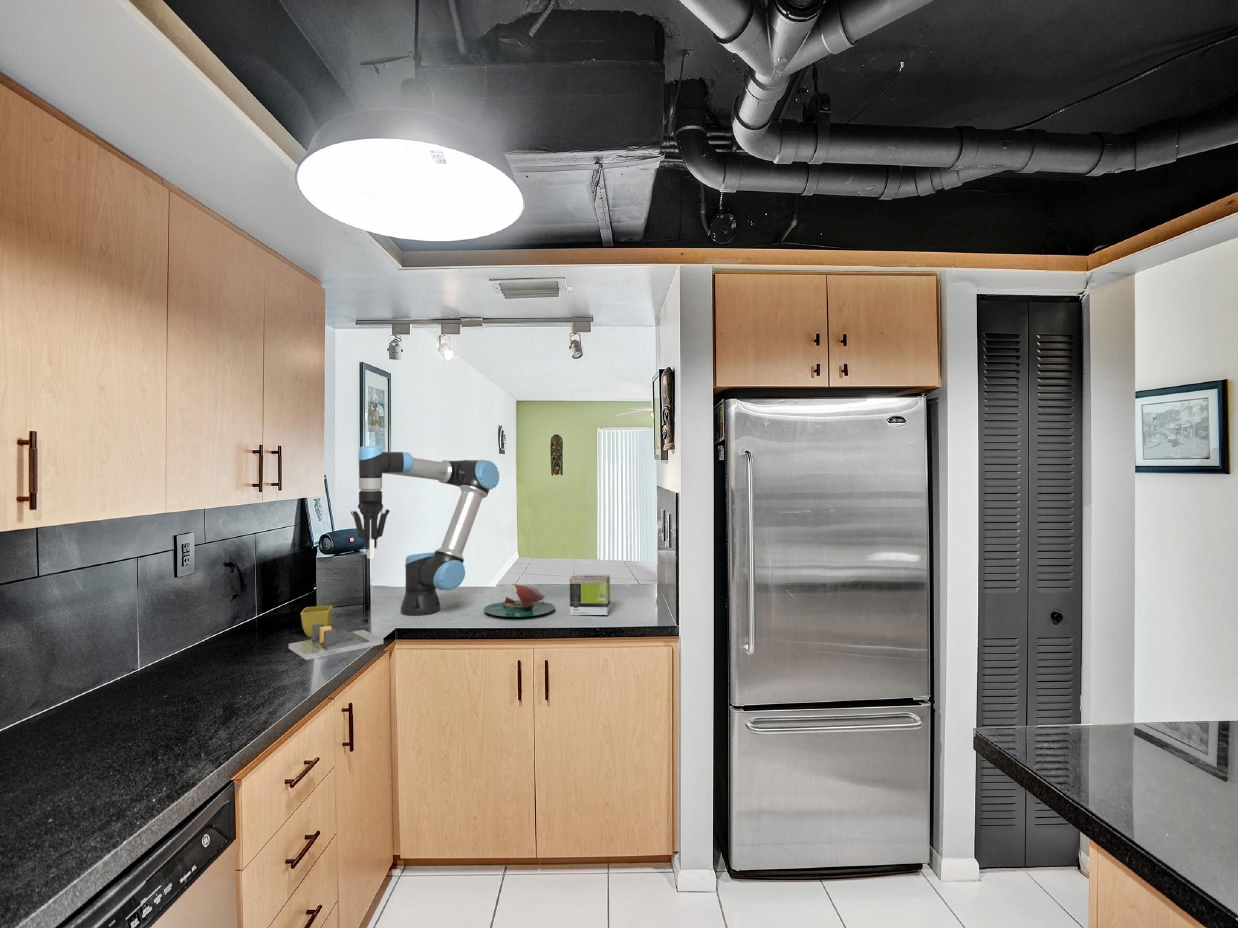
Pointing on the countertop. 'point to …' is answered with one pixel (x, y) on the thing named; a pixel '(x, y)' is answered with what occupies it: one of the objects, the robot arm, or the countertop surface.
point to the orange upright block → (323, 632)
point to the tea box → (589, 594)
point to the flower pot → (315, 617)
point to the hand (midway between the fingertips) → (370, 557)
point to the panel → (343, 644)
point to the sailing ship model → (521, 604)
